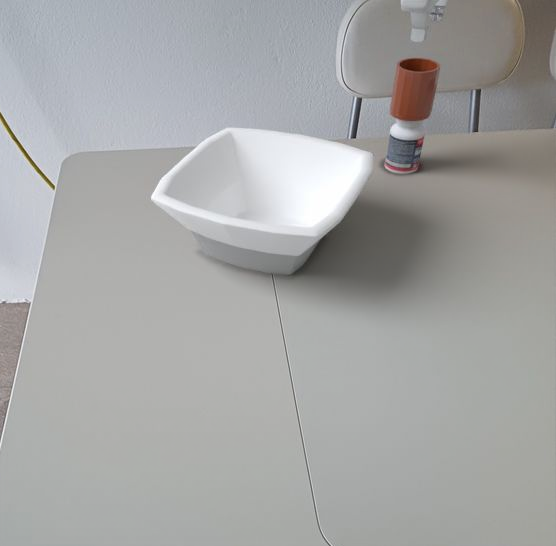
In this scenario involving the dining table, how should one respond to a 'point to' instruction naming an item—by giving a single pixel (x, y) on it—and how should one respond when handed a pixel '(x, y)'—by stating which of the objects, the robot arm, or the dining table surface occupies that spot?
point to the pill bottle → (404, 146)
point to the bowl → (263, 195)
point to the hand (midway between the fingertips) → (427, 30)
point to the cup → (414, 89)
